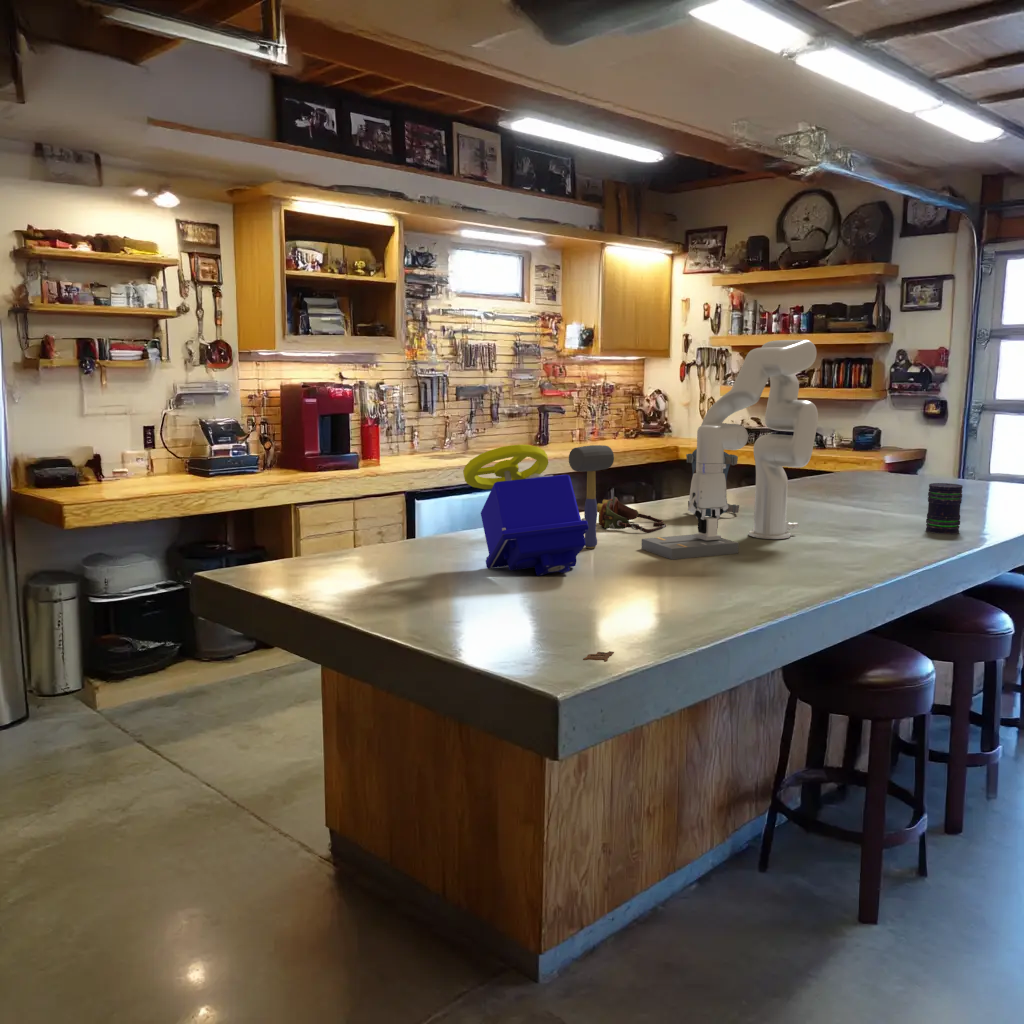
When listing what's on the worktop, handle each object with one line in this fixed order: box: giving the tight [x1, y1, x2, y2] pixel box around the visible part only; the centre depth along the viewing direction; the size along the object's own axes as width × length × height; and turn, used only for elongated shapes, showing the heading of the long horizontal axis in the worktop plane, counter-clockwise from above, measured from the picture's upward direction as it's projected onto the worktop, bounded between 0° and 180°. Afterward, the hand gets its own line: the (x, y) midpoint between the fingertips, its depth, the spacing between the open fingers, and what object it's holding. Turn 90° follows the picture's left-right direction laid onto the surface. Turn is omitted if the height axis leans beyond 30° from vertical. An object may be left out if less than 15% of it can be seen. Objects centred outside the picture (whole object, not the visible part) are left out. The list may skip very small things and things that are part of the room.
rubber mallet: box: [568, 444, 615, 550], centre depth 258 cm, size 12×8×30 cm, turn 127°
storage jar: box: [925, 482, 964, 535], centre depth 285 cm, size 10×10×15 cm
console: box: [641, 533, 739, 560], centre depth 256 cm, size 22×16×3 cm
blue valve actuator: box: [462, 444, 589, 577], centre depth 228 cm, size 26×27×30 cm
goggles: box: [597, 496, 667, 534], centre depth 295 cm, size 24×24×10 cm
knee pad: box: [685, 448, 740, 517], centre depth 318 cm, size 18×20×25 cm
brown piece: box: [582, 651, 615, 662], centre depth 170 cm, size 24×5×1 cm, turn 159°
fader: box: [693, 516, 722, 541], centre depth 257 cm, size 5×6×6 cm
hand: (707, 531), depth 257 cm, fingers closed on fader, 3 cm apart
